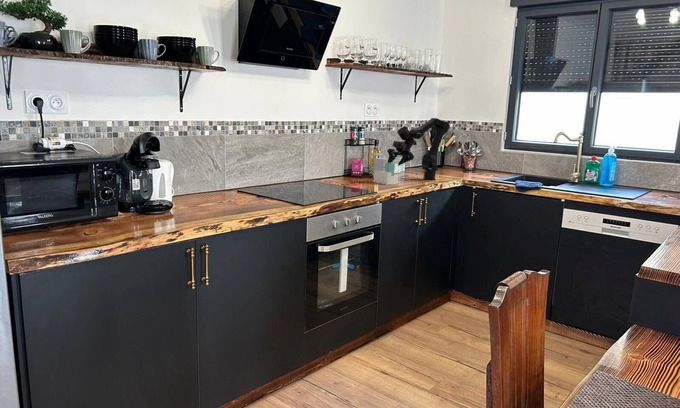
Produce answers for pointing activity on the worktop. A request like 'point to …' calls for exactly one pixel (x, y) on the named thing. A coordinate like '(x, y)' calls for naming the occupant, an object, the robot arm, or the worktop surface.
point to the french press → (375, 155)
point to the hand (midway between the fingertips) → (392, 164)
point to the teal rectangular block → (390, 168)
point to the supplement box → (379, 164)
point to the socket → (385, 177)
